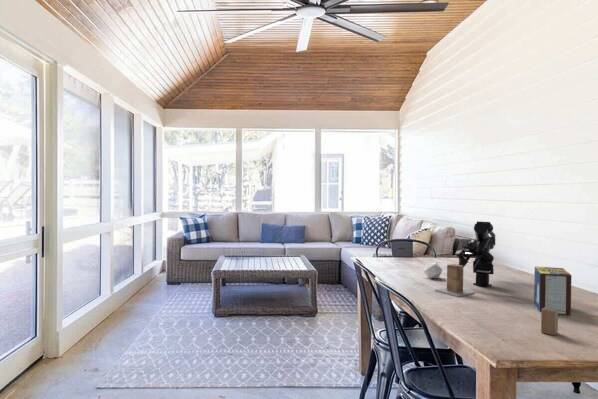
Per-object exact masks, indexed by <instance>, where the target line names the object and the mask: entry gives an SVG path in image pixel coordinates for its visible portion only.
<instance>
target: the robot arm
mask: <svg viewBox="0 0 598 399" xmlns="http://www.w3.org/2000/svg"><path fill="white" fill-rule="evenodd" d="M473 231H474V233H475V234H474V235H475V239H471V240H461V243H460V244H461V245H460V248H461V250H460V249H459V250H458V249H457V250H456V252H455V253H454V254H455V256H456V257H457V258H458V265H463V268H465V266H466V265H467V264H468V263H469V260H470V259H471V258H473V259H474V260H472V273H473V274H475V282H474V283H472V285H474V286H478V287H484V288H487V287H492V286H493V284H491V283H490V275H494V274H495V273H494V271H495V270H494V264H493V262H494V260H495V259H494V255H492V253H491V250H493V249H494V248H495V246H496V233H494V226H493V224H492V223H491V221H476V223H475V224H474V226H473ZM462 249H465V250H466V251H465V250H462Z"/></svg>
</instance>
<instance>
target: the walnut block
mask: <svg viewBox="0 0 598 399" xmlns="http://www.w3.org/2000/svg"><path fill="white" fill-rule="evenodd" d="M446 288H447V291H451V292H454V293H458V292H463V290H464V267H463V265H459V264H457V263H451V264H447V265H446Z"/></svg>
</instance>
